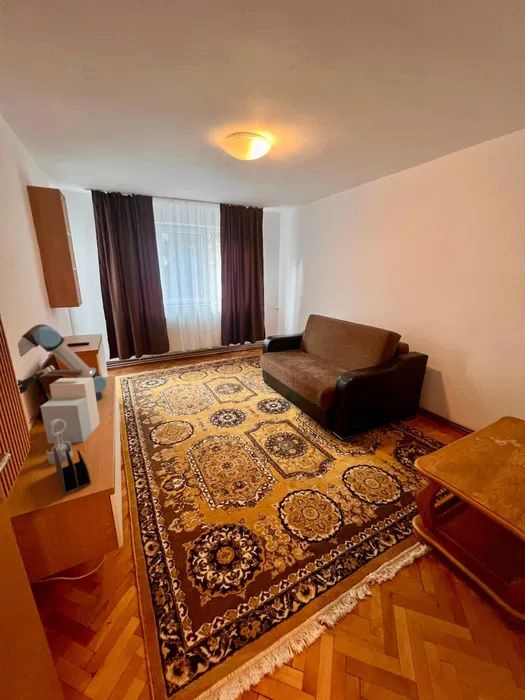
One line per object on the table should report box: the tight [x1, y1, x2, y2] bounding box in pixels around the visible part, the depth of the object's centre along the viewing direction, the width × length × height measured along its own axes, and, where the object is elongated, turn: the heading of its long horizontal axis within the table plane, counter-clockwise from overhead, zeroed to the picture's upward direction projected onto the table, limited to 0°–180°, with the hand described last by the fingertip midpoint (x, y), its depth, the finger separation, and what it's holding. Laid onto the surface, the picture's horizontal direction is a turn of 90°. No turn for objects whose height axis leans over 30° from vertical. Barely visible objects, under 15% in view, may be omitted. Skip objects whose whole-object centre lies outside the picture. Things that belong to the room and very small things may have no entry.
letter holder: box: [53, 446, 92, 496], centre depth 126 cm, size 10×20×14 cm, turn 43°
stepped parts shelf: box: [39, 377, 101, 445], centre depth 159 cm, size 20×18×30 cm
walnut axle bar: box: [33, 369, 83, 377], centre depth 158 cm, size 3×24×2 cm, turn 96°
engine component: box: [45, 419, 74, 465], centre depth 139 cm, size 11×20×10 cm
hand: (50, 368), depth 157 cm, fingers closed on walnut axle bar, 3 cm apart
